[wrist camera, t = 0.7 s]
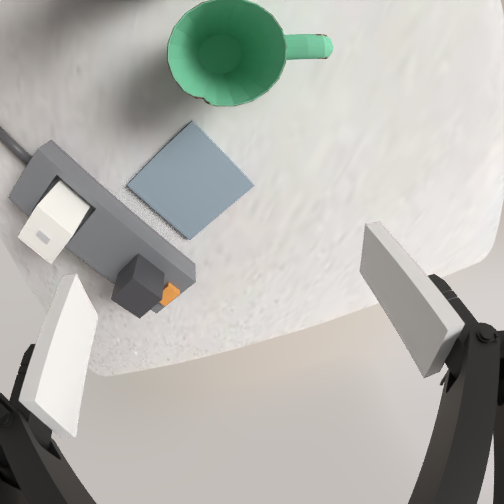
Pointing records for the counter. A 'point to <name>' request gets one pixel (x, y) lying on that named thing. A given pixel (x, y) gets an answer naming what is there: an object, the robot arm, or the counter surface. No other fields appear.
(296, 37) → the mug
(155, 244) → the strip
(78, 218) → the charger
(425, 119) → the counter surface
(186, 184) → the mat
